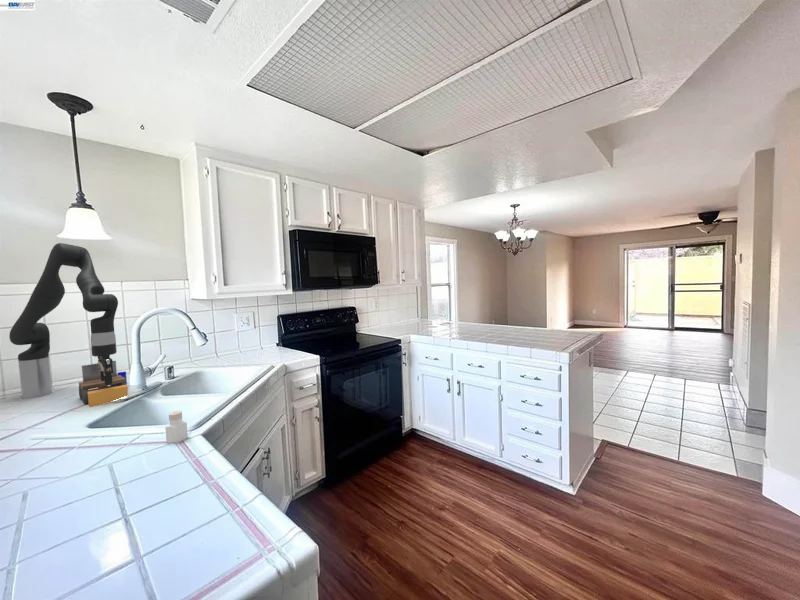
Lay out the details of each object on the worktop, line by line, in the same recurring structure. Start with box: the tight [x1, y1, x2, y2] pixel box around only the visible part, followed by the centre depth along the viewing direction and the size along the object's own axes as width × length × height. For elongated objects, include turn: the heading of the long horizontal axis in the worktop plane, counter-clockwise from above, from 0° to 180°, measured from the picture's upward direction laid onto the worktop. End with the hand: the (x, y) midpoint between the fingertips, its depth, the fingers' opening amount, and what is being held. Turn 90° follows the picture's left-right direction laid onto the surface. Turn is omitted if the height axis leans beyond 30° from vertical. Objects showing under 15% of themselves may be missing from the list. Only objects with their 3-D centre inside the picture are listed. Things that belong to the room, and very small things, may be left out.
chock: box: [88, 384, 129, 408], centre depth 134 cm, size 4×12×6 cm, turn 135°
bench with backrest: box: [78, 360, 128, 405], centre depth 141 cm, size 16×14×14 cm
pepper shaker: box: [164, 410, 189, 444], centre depth 95 cm, size 4×4×10 cm
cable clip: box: [109, 371, 128, 386], centre depth 157 cm, size 12×4×6 cm, turn 26°
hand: (106, 382), depth 134 cm, fingers open, 8 cm apart
